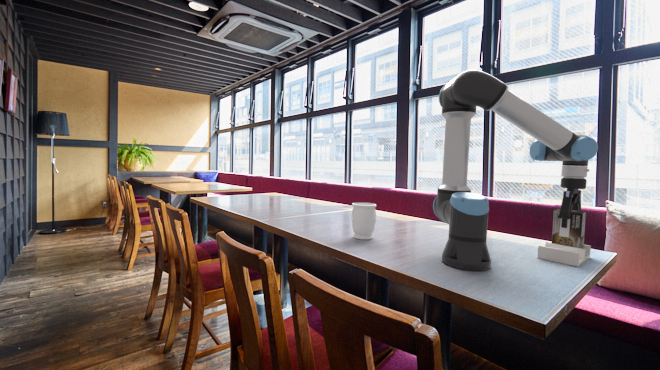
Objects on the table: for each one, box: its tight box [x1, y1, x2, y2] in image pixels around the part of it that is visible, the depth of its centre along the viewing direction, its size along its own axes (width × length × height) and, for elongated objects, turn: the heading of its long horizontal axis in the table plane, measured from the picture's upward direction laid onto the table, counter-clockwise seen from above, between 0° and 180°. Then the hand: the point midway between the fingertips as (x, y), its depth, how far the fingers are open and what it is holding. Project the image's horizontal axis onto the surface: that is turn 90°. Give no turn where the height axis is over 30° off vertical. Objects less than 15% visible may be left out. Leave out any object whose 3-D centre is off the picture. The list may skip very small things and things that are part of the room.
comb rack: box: [537, 242, 592, 267], centre depth 118 cm, size 12×18×4 cm
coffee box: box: [551, 208, 587, 249], centre depth 121 cm, size 9×6×16 cm
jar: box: [351, 201, 378, 241], centre depth 140 cm, size 11×10×15 cm
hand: (568, 234), depth 121 cm, fingers open, 13 cm apart
